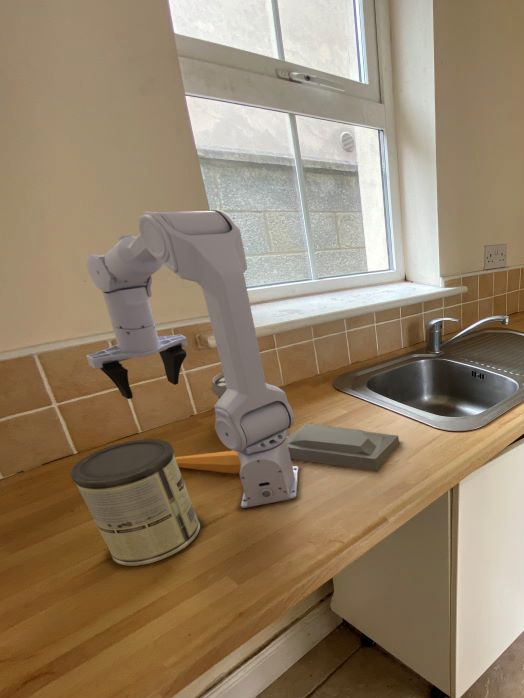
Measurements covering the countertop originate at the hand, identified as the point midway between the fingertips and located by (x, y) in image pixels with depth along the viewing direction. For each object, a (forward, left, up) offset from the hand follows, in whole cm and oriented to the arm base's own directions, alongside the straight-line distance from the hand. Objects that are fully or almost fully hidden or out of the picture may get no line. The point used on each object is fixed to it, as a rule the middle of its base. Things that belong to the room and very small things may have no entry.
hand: (151, 389), depth 85 cm
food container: (+2, -12, -11) cm, 16 cm away
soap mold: (-16, -32, -11) cm, 37 cm away
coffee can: (-33, -6, -11) cm, 35 cm away
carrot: (-14, -8, -11) cm, 20 cm away
